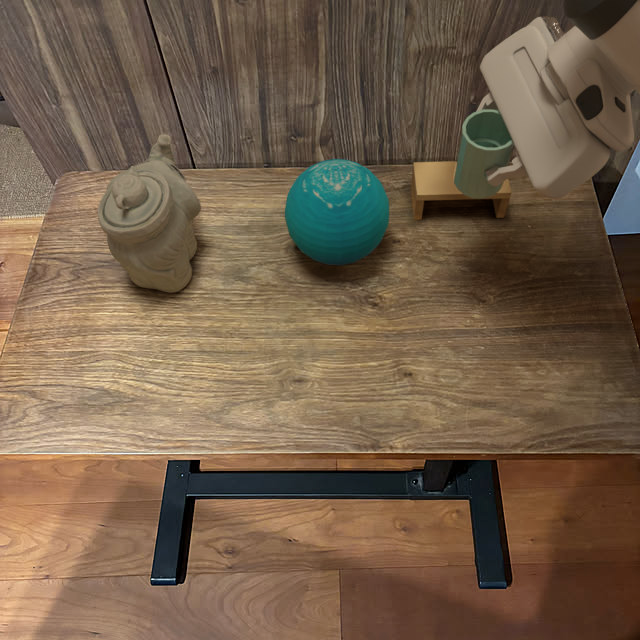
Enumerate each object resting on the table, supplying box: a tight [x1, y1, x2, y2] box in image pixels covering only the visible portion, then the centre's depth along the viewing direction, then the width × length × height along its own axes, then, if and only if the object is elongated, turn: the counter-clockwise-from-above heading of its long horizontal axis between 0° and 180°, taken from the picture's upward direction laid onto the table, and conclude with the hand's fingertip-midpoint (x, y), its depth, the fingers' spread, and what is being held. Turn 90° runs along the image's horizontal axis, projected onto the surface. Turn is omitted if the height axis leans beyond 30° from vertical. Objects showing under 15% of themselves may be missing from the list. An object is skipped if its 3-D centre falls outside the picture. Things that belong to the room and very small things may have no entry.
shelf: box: [410, 160, 512, 221], centre depth 97 cm, size 14×7×6 cm, turn 90°
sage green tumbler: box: [453, 109, 515, 200], centre depth 73 cm, size 6×6×9 cm
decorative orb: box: [284, 158, 390, 266], centre depth 89 cm, size 15×15×15 cm
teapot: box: [97, 133, 202, 293], centre depth 88 cm, size 16×15×19 cm
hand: (479, 155), depth 73 cm, fingers closed on sage green tumbler, 6 cm apart
